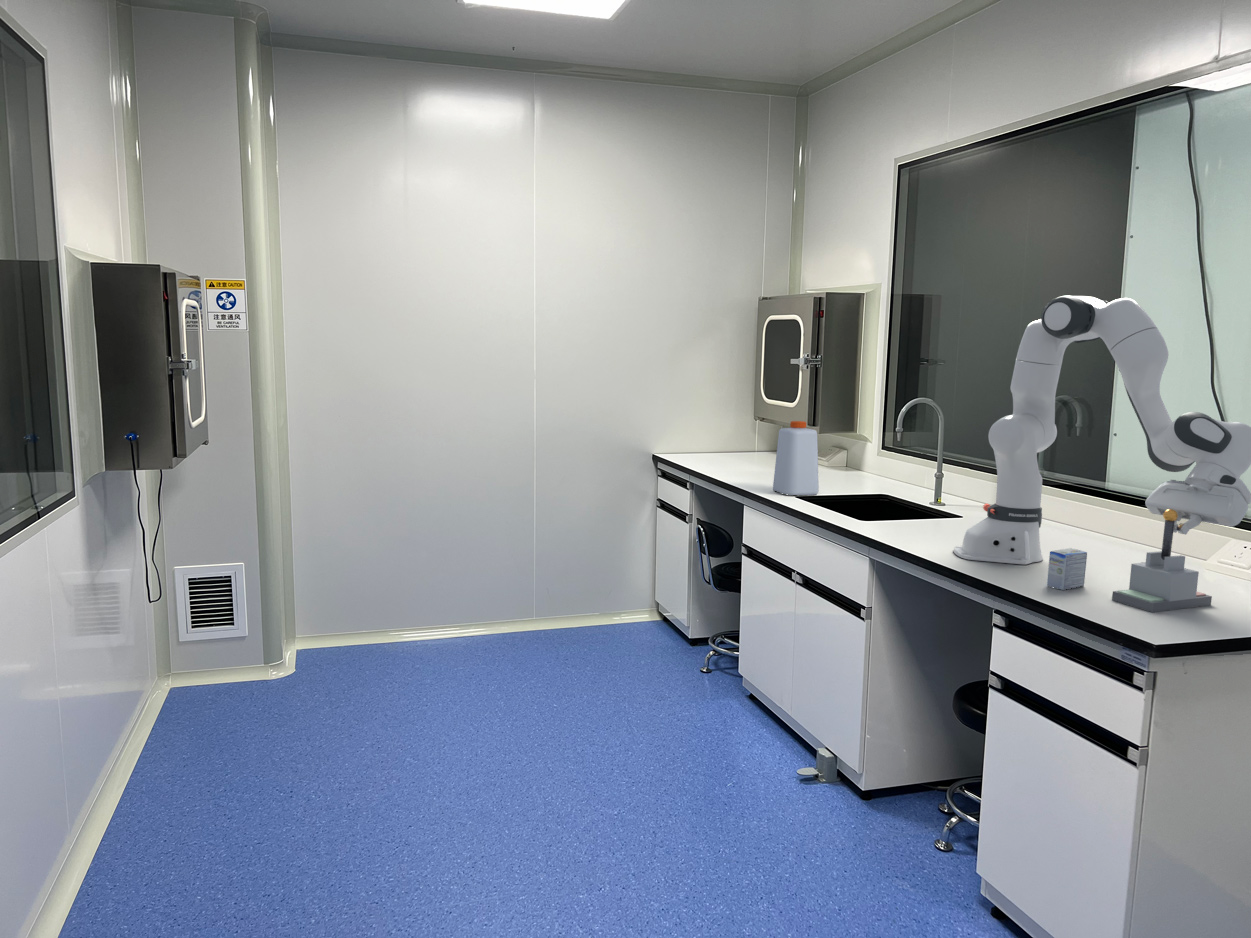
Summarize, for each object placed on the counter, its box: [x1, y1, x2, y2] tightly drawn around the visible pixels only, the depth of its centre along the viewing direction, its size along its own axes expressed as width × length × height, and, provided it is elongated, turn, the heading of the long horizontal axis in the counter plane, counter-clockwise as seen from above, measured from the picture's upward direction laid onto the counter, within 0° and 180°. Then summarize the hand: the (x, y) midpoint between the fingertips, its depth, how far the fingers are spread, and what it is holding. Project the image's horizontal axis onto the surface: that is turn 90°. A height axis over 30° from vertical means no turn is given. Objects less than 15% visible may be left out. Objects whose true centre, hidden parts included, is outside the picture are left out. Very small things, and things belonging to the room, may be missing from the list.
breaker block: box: [1111, 550, 1213, 613], centre depth 196 cm, size 18×10×11 cm, turn 111°
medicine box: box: [1046, 547, 1088, 591], centre depth 209 cm, size 8×4×9 cm, turn 118°
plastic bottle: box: [772, 420, 820, 496], centre depth 341 cm, size 15×15×28 cm
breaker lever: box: [1161, 509, 1178, 560], centre depth 195 cm, size 3×3×12 cm
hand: (1175, 531), depth 195 cm, fingers closed
